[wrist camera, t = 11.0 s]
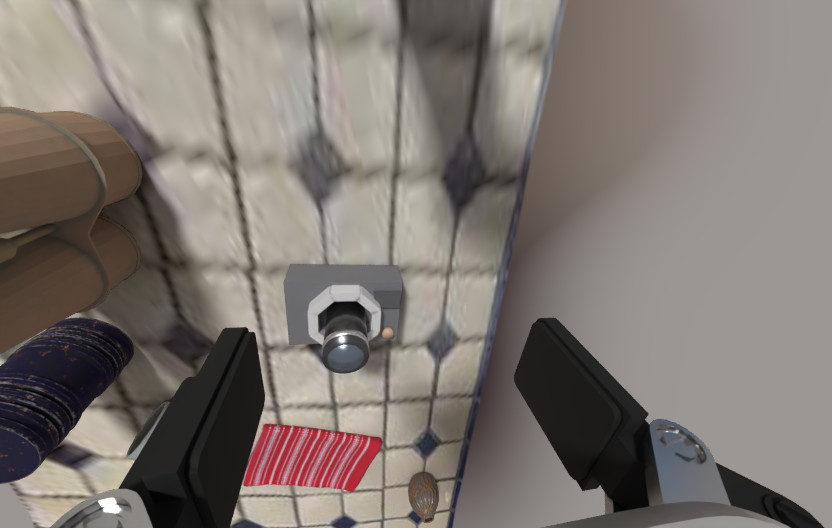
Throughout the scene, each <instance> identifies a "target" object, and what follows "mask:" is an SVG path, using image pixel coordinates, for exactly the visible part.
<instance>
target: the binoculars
mask: <svg viewBox="0 0 832 528" xmlns="http://www.w3.org/2000/svg"><path fill="white" fill-rule="evenodd" d="M142 175H143V173H142V166H141V162H140V159H139V157H138V155H137V152H136V151H135V149H134V148H133V147H132V145H131V144H130V142H129V141H128V140H127V139H126V138H125V137H124V136H123V135H122V134H121V133H120V132H119V131H118V130H117V129H115V128H113V127H112V126H110V125H109V124H107V123H106V122H104V121H103V120H100V119H98V118H95V117H93V116H91V115H88V114H84V113H79V112H74V111H60V112H51V113H36V112H34V111H30V110H25V109H20V108H15V107H0V354H1V353H3V352H5V351H7V350H8V349H10V348H12V347H14V346H16V345H18V344H19V343H21V342H23V341H25V340H27V339H29V338H31V337H32V336H34V335H36V334H38V333H40V332H42V331H43V330H45V329H47V328H49V327H51V326H53V325H54V324H56V323H58V322H60V321H62V320H64V319H65V318H67V317H69V316H71V315H73V314H75V313H80V312H84V311H87V310H90V309H93V308H95V307H96V306H97V305H99V304H100V303H102V302H103V301H104V300H105V299H106V297H107V296H108V294H109V293H110V290H111V289H112V288H114V287H115V286H116V285H118V284H119V283H120V282H121V281H123V280H125V279H126V278H128V277H129V276H130V275H132V274H133V273H135V271H136V270H137V268H138V267H139V265H140V260H141V254H140V248H139V246H138V244H137V242H136V240H135V239H134V238H133V237H132V235H131V234H130V233H129V232H128V231H127V230H126V229H125V228H123V227H122V226H121V225H119V224H118V223H117V222H115V221H113V220H111V219H109V218H107V217H105V216H102V215H99V214H100V212H101V210H102V208H103V207H104V206H107V205H109V204H112V203H115V202H118V201H121V200H124V199H126V198H128V197H130V196H131V195H132V194H134V193H135V192H136V191H137V189H138V187H139V186H140V184H141V180H142Z"/></svg>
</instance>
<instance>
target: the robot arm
mask: <svg viewBox="0 0 832 528" xmlns="http://www.w3.org/2000/svg"><path fill="white" fill-rule="evenodd" d="M514 381H515V384H516V386H517V388H518V389H519V391H520V392H521V394H522V396H523V398H524V399H525V401H526V403H527V404H528V406H529V408H530V409H531V411H532V413H533V415H534V416H535V418H536V420H537V421H538V423H539V425H540V426H541V428H542V430H543V431H544V433H545V435H546V436H547V438H548V440H549V441H550V443H551V445H552V447H553V448H554V450H555V451H556V453H557V455H558V457H559V458H560V460H561V461H562V463H563V465H564V467H565V468H566V470H567V471H568V473H569V475H570V476H571V477H572V478H573V479H574V480H576V481H577V482H578V484H579V486H580V487H581V489H582V491H585V490H590V489H596V488H598V487H599V485H601V487H602V489H603V490H604V492H605V515H601V516H596V517H591V518H586V519H581V520H577V521H571V522H567V523H562V524H557V525H552V526H547V527H542V528H824V527H823V526H822V525H821V524H820V523H819V522H818V521H817V520H816V519H815V518H814V517H813V516H812V515H811V514H810V513H809V512H807V511H806V510H805V509H803V508H802V507H800V506H799V505H797V504H796V503H794V502H793V501H791V500H789V499H787V498H786V497H784V496H782V495H780V494H778V493H776V492H774V491H772V490H770V489H768V488H766V487H764V486H762V485H760V484H758V483H756V482H754V481H752V480H750V479H748V478H746V477H744V476H742V475H740V474H738V473H736V472H734V471H732V470H730V469H728V468H726V467H724V466H722V465H720V464H718V463H716V462H715V461H714V458H713V456H712V454H711V452H710V450H709V449H708V448H707V447H706V445H705V444H704V443H703V442H702V441H701V440H700V439H699V438H698V437H697V436H695V435H694V434H693V433H692V432H690V431H689V430H687V429H686V428H684V427H682V426H680V425H678V424H676V423H674V422H671V421H668V420H664V419H656V420H653V421H652V422H651V423H650V425H649V424H648V423H647V422H646V421H645V419H646V417H647V416H648V413H647V412H646V411H645V410H644V409H643V407H642V406H641V405H640V404H639V403H638V402H637V401H636V400H635V399H634V398H633V397H632V396H631V395H630V394H629V393H628V392H627V391H626V390H625V389H624V388H623V387H622V386H621V385H620V384H619V383H618V382H617V381H616V380H615V379H614V377H613V376H611V374H610V373H609V372H608V371H607V370H606V369H605V368H604V367H603V366H602V365H601V364H600V363H599V362H598V361H597V360H596V359H595V358H594V357H593V356H592V355H591V354H590V353H589V352H588V351H587V350H586V349H585V348H584V347H583V345H581V343H579V341H578V340H577V339H576V338H575V337H574V336H573V335H572V334H571V333H570V332H569V331H568V330H567V329H566V328H565V327H564V326H563V325H562V324H561V323H560V322H559V321H558V320H557V319H556V318H539V319H538V320H537V321H536V322H535V323H534V324H533V325H532V327H531V330H530V333H529V336H528V338H527V341H526V344H525V347H524V350H523V352H522V355H521V358H520V361H519V363H518V366H517V369H516V372H515V375H514ZM264 402H265V392H264V386H263V380H262V373H261V367H260V361H259V354H258V348H257V342H256V336H255V333H254V332H249V331H248V328H246V327H241V328H225V329H223V331H222V332H221V334H220V336H219V338H218V339H217V341H216V343H215V345H214V347H213V348H212V350H211V352H210V354H209V356H208V357H207V359H206V361H205V363H204V365H203V366H202V368H201V370H200V372H199V373H198V375H197V377H188V378H186V379H185V380H184V381H183V383H182V384H181V385H180V387H179V389H178V390H177V392H176V394H175V395H174V397H173V399H172V400H171V402H170V404H169V405H168V407H167V409H166V410H165V412H164V414H163V415H162V417H161V419H160V420H159V422H158V424H157V425H156V427H155V429H154V430H153V432H152V434H151V435H150V437H149V439H148V440H147V442H146V444H145V445H144V447H143V449H142V450H141V452H140V454H139V455H138V457H137V459H136V460H135V462H134V464H133V465H132V467H131V469H130V470H129V472H128V474H127V475H126V477H125V479H124V480H123V482H122V484H121V485H120V487H119V489H113V490H110V491H106V492H103V493H100V494H97V495H95V496H93V497H91V498H89V499H87V500H85V501H83V502H81V503H80V504H78V505H77V506H75V507H74V508H72V509H71V510H70V511H68V512H67V513H65V514H64V515H63V516H62V517H61V518H60V519H58V520H57V521H56V522H55V523H54V524H53V525H52V526H51V527H50V528H230V524H231V521H232V517H233V514H234V510H235V506H236V503H237V499H238V496H239V492H240V489H241V485H242V482H243V478H244V475H245V471H246V467H247V464H248V460H249V457H250V453H251V450H252V446H253V443H254V439H255V436H256V432H257V429H258V425H259V421H260V418H261V414H262V411H263V407H264Z"/></svg>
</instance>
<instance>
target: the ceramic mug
mask: <svg viewBox="0 0 832 528" xmlns="http://www.w3.org/2000/svg"><path fill="white" fill-rule="evenodd" d="M169 404H170V402H168V401H166V402H164V403H162V404H161V405H160V406H159V407H158V408H157V409H156V410H155V411H154V412H153V413H152V415H151V416H150V417H149V419H148V420H147V421H146V423H145V424H144V425H143V427H142V428H141V430H140V431H139V433H138V434H137V436H136V437H135V439H134V441H133V443H132V444H131V446H130V448H129V450H128V452H127V458H128V459H132V460H136V459H137V457H138V455H139V454H140V452H141V450H142V449H143V447H144V445H145V444H146V442H147V440H148V439H149V437H150V435H151V434H152V432H153V430H154V429H155V427H156V425H157V424H158V422H159V420H160V419H161V417H162V415H163V414H164V412H165V410H166V409H167V407H168V405H169Z"/></svg>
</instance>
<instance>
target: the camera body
mask: <svg viewBox="0 0 832 528" xmlns="http://www.w3.org/2000/svg"><path fill="white" fill-rule="evenodd" d="M402 285H403V281H402V278H401V275H400V272H399V269H398V265H318V264H290V267H289V269H288V272H287V275H286V277H285V280H284V292H285V303H286V314H287V324H288V335H289V345H299V344H321V345H323V342H324V333H325V323H326V313H327V309H328V307H329V306H330V305H331V304H332V303H333V302H334V301H357V302H359V303H360V304H361V305H362V306H363V307H364V308H365V313H366V325H367V337H368V342H369V341H388V340H397V331H398V322H399V313H400V303H401V294H402Z"/></svg>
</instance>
